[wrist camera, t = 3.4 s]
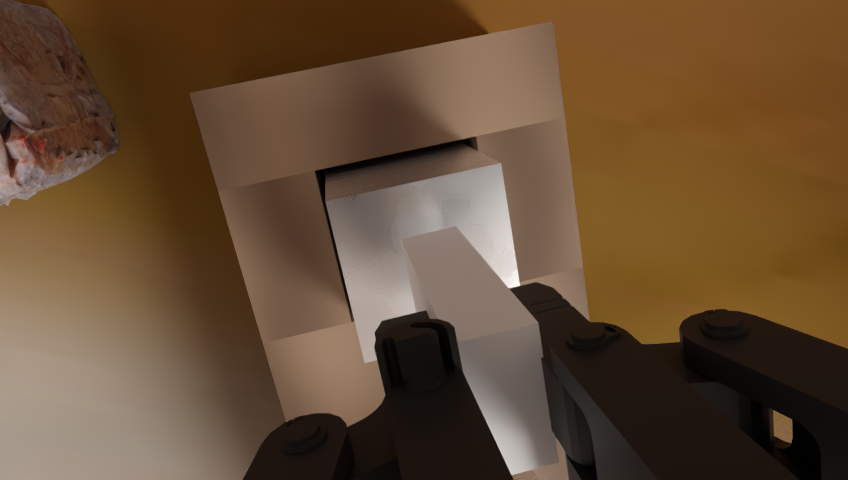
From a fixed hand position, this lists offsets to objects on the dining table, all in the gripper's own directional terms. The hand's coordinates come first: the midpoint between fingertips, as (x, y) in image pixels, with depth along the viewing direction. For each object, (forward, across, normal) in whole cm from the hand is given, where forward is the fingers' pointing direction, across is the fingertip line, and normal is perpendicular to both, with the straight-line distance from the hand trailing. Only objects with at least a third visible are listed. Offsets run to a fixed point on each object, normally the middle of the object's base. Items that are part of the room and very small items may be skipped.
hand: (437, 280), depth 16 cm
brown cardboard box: (+13, 0, +6) cm, 15 cm away
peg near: (+9, 0, 0) cm, 9 cm away
